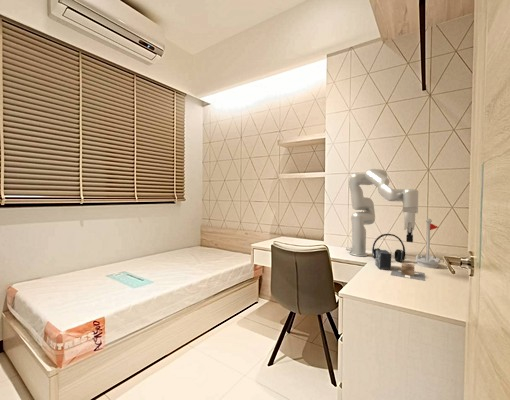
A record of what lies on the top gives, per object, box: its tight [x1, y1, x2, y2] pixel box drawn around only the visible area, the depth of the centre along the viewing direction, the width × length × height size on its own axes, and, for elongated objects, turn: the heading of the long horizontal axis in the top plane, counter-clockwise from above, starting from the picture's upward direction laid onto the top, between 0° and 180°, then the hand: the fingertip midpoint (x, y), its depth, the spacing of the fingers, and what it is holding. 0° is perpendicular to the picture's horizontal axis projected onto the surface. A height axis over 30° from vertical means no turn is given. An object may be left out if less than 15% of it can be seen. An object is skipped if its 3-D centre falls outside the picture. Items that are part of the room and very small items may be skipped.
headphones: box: [371, 233, 406, 262], centre depth 170 cm, size 20×7×18 cm, turn 81°
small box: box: [374, 248, 392, 271], centre depth 152 cm, size 11×6×10 cm, turn 168°
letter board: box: [390, 267, 426, 282], centre depth 140 cm, size 16×16×1 cm
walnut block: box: [400, 262, 415, 276], centre depth 140 cm, size 6×6×5 cm
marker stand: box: [414, 218, 441, 269], centre depth 160 cm, size 13×13×30 cm
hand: (409, 241), depth 146 cm, fingers closed
